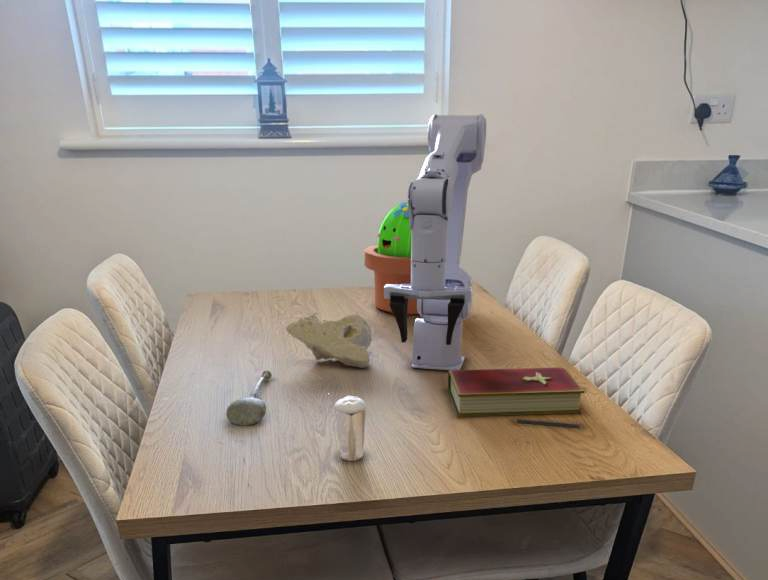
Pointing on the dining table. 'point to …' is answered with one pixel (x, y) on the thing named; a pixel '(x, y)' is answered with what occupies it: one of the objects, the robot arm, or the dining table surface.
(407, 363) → the dining table surface
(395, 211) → the potted cactus
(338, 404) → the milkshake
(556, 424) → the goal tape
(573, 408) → the hardcover book
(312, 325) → the beige rock fragment
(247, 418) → the soupspoon
